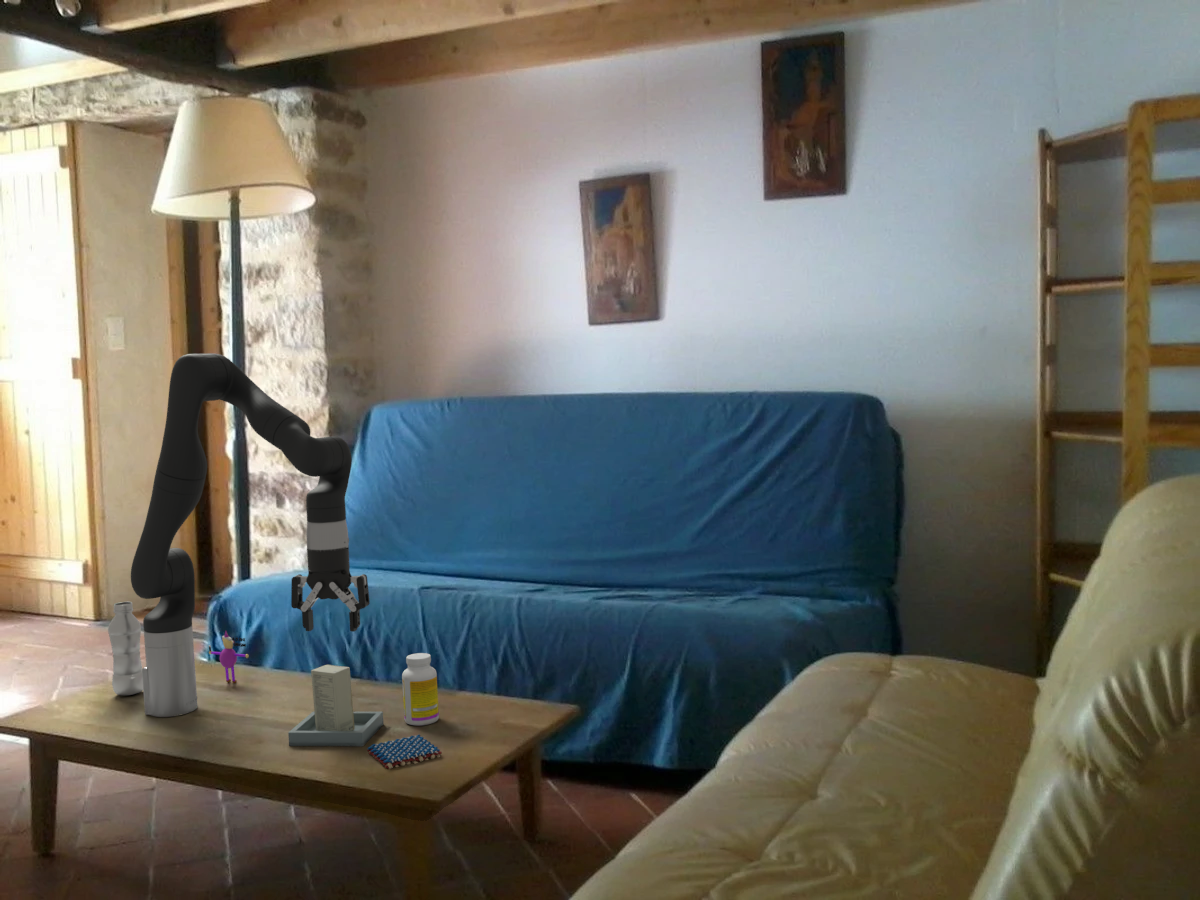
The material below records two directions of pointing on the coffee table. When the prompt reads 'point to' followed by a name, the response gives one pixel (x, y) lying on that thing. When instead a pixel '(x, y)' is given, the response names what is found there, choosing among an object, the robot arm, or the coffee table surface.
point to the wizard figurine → (229, 655)
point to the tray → (363, 731)
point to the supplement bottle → (420, 690)
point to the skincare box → (332, 698)
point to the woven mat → (403, 751)
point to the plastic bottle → (126, 650)
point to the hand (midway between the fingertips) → (331, 630)
